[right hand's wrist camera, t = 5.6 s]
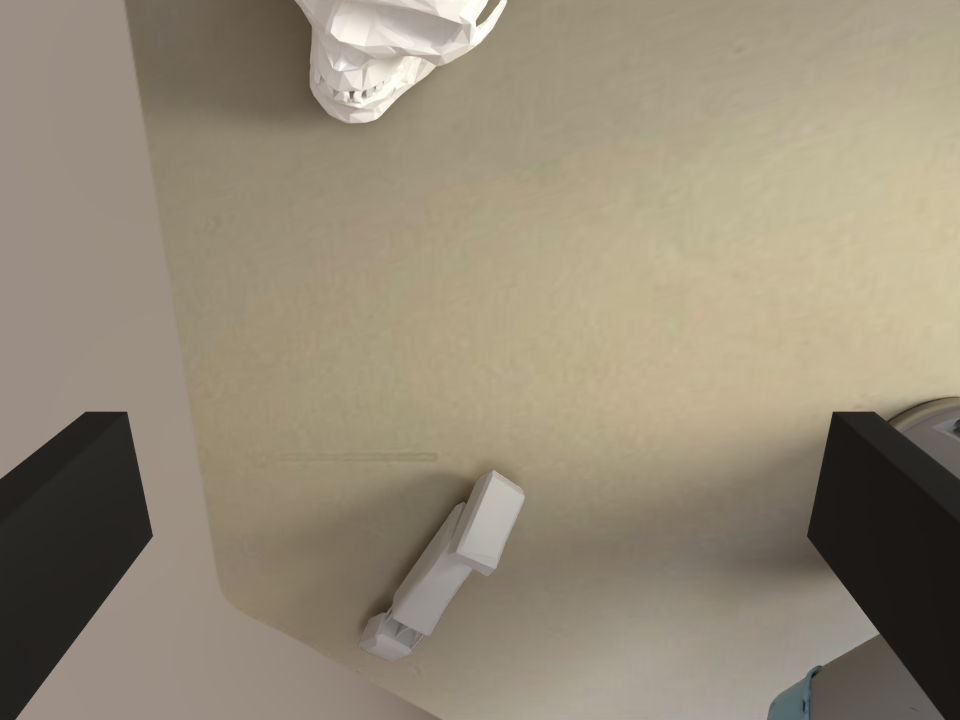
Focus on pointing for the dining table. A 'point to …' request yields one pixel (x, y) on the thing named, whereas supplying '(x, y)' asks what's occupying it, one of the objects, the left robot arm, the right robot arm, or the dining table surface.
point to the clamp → (446, 566)
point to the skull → (385, 48)
